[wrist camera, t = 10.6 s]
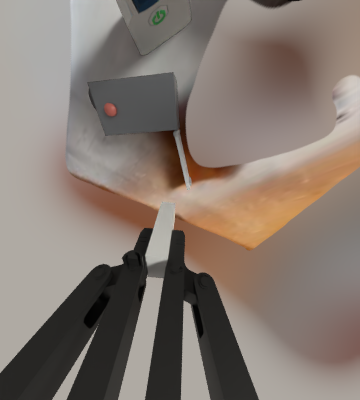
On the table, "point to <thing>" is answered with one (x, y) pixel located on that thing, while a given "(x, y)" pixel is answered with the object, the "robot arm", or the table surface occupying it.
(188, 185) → the grey thin flat plate
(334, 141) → the table surface
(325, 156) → the table surface
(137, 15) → the electronic device
